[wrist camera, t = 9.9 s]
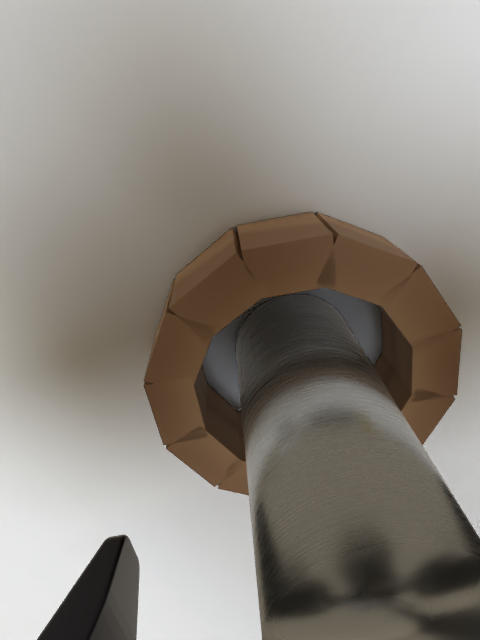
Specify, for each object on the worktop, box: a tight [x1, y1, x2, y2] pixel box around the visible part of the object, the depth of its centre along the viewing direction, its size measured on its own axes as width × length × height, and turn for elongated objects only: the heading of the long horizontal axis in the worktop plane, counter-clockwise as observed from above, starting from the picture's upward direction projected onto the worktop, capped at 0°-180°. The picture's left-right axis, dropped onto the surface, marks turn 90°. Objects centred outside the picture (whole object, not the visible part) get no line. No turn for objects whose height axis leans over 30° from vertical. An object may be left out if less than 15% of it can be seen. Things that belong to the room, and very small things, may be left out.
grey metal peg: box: [236, 294, 480, 640], centre depth 11 cm, size 4×4×9 cm
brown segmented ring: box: [144, 212, 462, 495], centre depth 14 cm, size 9×9×2 cm
